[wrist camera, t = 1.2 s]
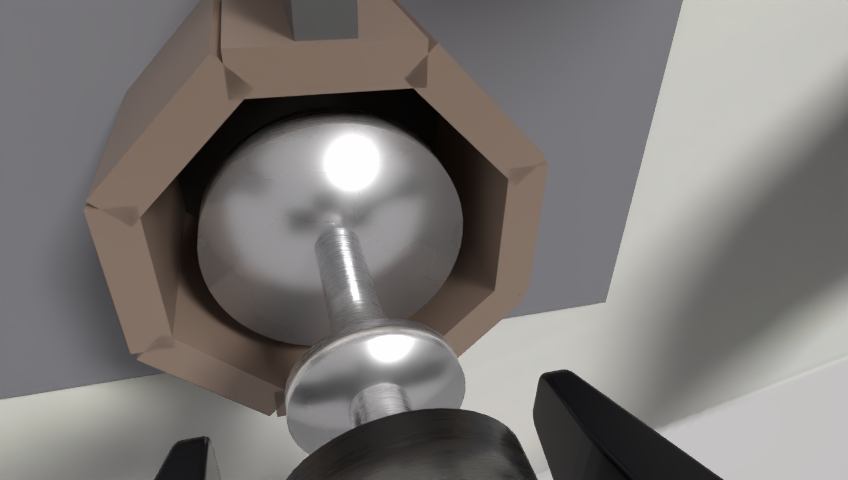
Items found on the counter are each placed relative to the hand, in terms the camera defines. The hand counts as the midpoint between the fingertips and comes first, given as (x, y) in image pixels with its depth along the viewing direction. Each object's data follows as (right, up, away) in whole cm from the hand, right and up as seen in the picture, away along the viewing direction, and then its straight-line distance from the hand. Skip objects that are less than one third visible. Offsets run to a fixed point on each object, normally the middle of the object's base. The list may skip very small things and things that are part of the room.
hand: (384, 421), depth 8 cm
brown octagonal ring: (-2, +6, +7) cm, 9 cm away
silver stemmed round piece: (-1, +3, +4) cm, 5 cm away
